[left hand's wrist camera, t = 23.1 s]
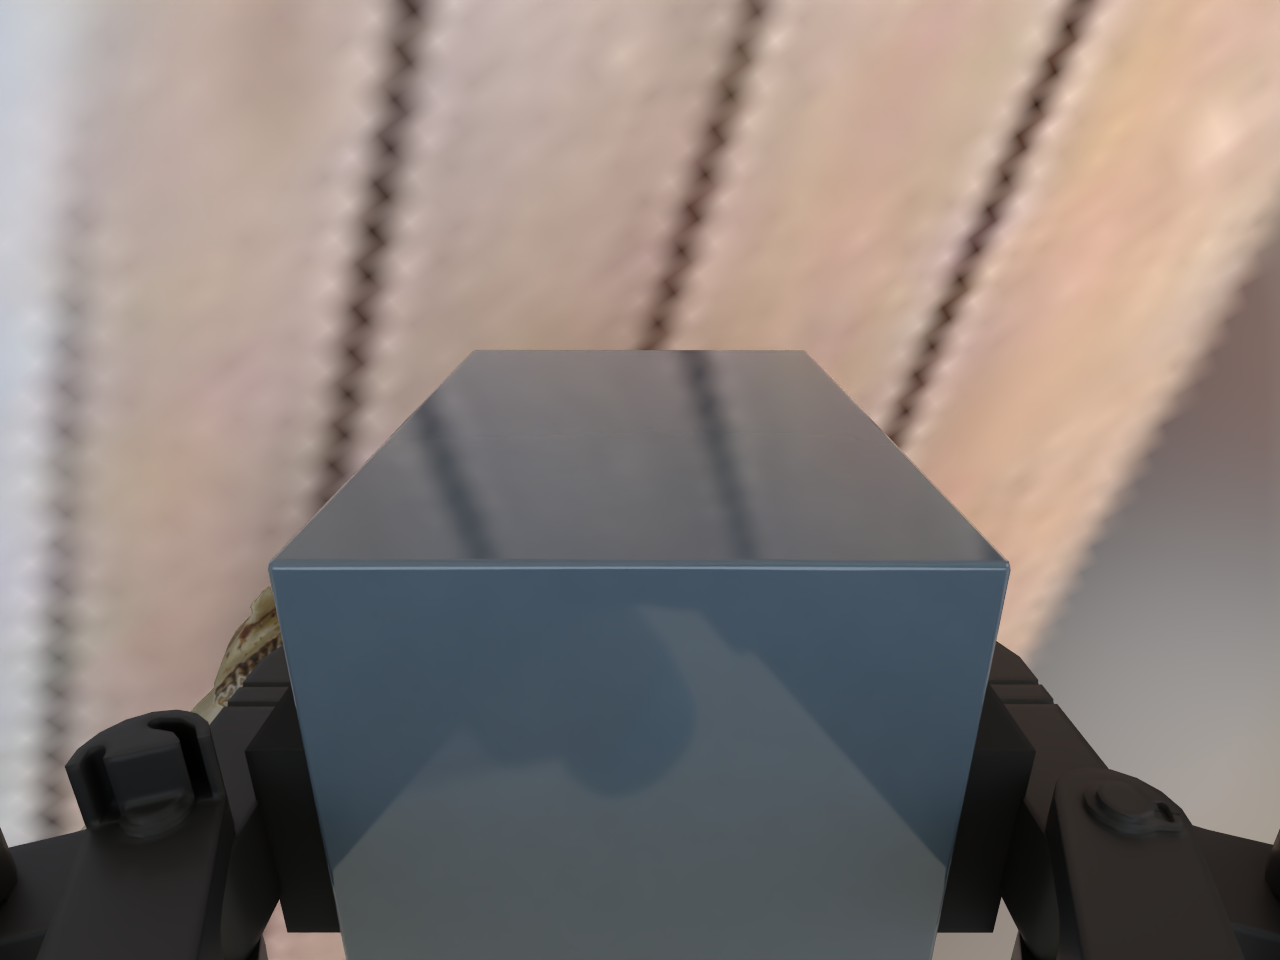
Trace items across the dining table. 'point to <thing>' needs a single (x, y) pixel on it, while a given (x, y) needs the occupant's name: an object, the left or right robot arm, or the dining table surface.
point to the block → (639, 668)
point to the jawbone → (243, 655)
